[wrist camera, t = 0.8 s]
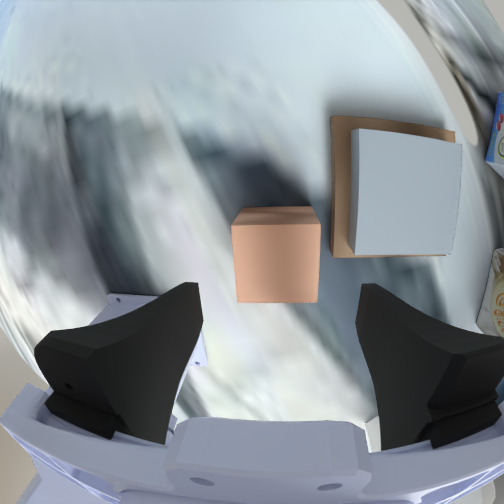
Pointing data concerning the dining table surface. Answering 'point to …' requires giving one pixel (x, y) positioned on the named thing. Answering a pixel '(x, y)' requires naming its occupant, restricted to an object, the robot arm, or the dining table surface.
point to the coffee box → (493, 298)
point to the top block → (403, 194)
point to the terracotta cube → (276, 254)
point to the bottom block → (342, 171)
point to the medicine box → (497, 138)
